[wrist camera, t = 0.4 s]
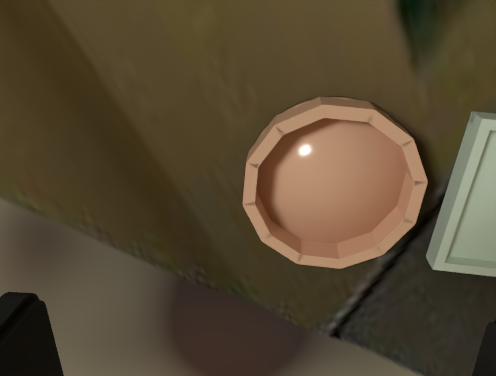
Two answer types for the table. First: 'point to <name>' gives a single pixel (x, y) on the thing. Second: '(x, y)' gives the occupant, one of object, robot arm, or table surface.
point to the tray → (469, 205)
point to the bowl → (333, 182)
